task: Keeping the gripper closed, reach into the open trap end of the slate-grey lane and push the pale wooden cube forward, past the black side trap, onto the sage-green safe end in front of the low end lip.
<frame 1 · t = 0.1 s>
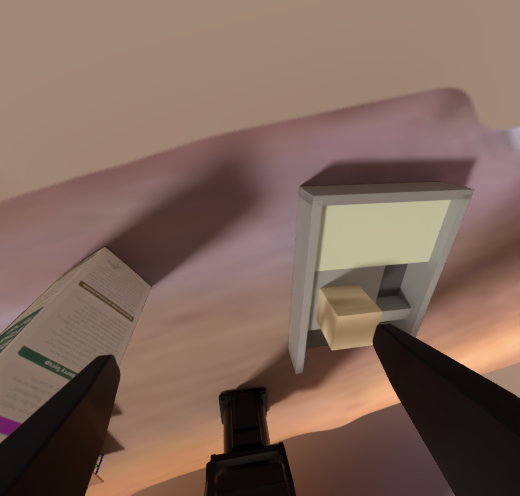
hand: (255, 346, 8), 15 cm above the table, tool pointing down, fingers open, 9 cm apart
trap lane: (353, 278, 26), on the table
syrup box: (109, 281, 22), on the table
wooden cube: (336, 302, 24), point 2 cm above the table, touching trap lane
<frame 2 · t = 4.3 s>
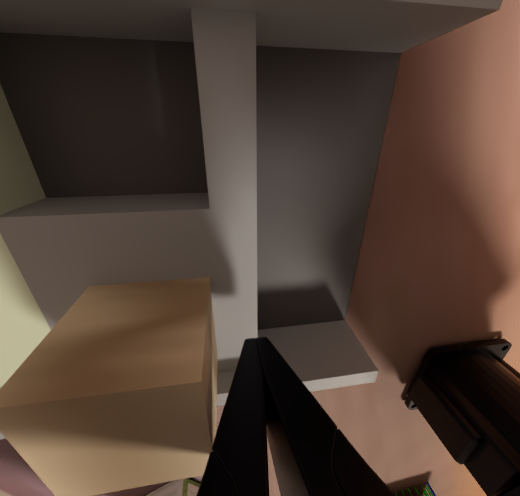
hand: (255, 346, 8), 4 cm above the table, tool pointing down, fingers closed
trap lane: (142, 229, 10), on the table
syrup box: (181, 493, 21), on the table
wooden cube: (161, 324, 9), point 3 cm above the table, touching gripper
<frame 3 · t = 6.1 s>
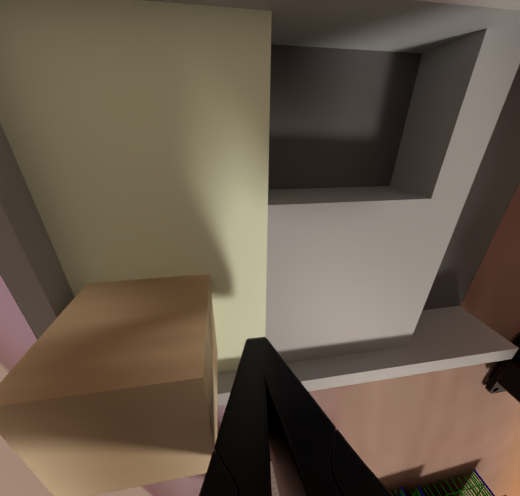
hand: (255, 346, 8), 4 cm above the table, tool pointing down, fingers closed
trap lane: (320, 219, 11), on the table
wooden cube: (160, 322, 9), point 2 cm above the table, touching gripper, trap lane
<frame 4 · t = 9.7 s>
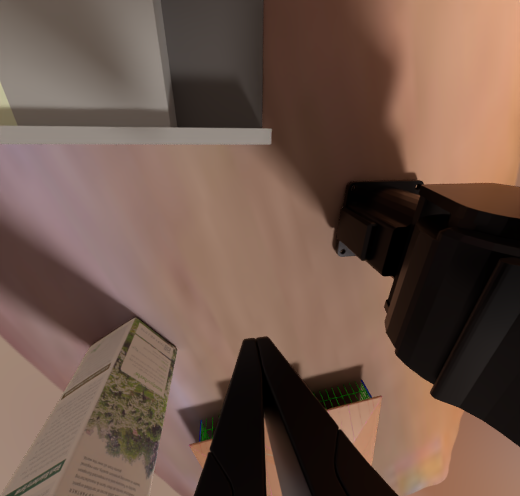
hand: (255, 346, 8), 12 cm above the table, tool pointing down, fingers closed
syrup box: (137, 344, 23), on the table
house: (291, 443, 36), on the table
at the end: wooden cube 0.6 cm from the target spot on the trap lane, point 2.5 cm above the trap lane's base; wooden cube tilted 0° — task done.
